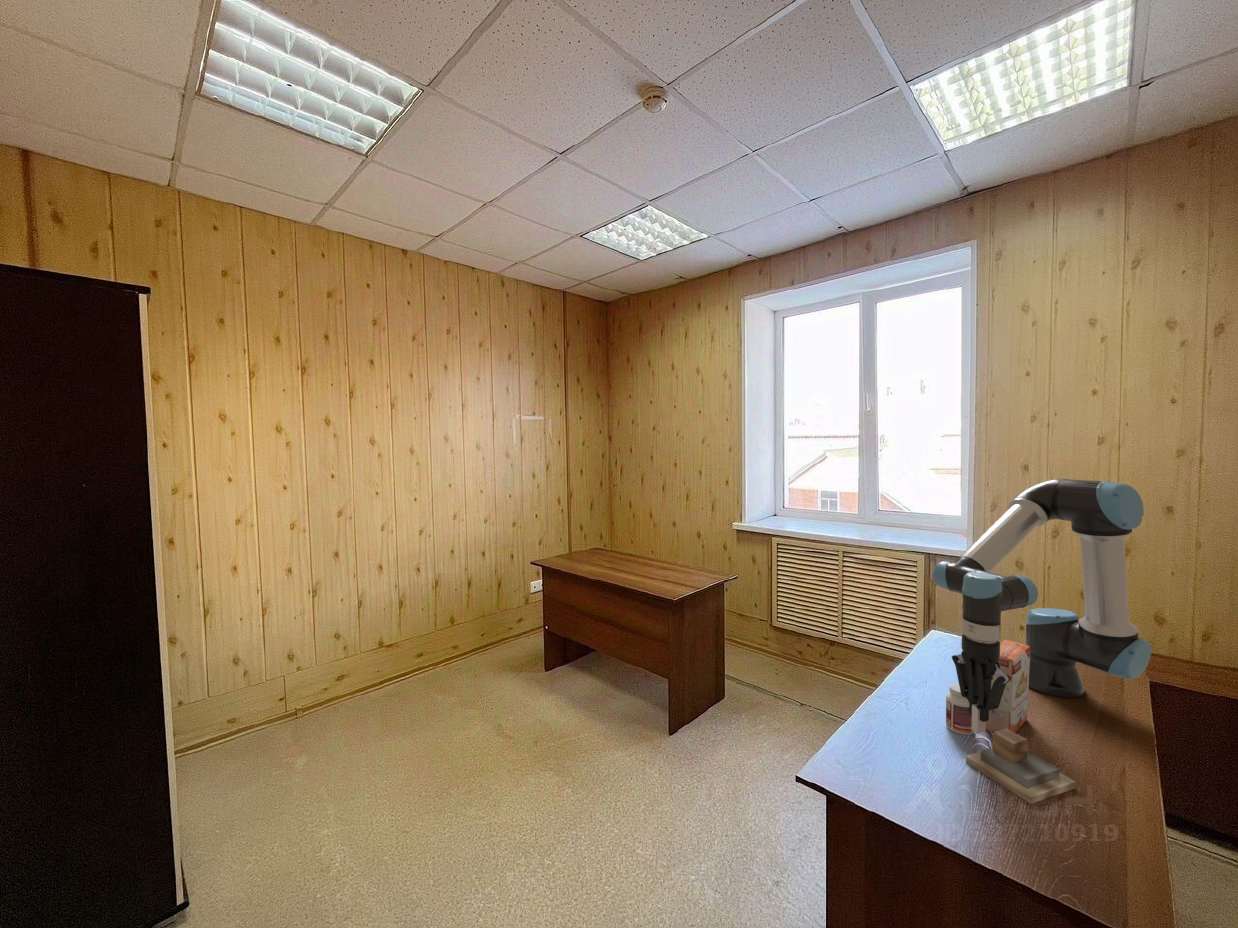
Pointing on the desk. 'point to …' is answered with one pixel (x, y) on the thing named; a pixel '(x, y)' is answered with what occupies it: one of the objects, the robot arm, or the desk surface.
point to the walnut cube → (1010, 745)
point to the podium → (1022, 775)
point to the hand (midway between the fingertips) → (978, 730)
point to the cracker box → (1012, 688)
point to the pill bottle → (958, 711)
